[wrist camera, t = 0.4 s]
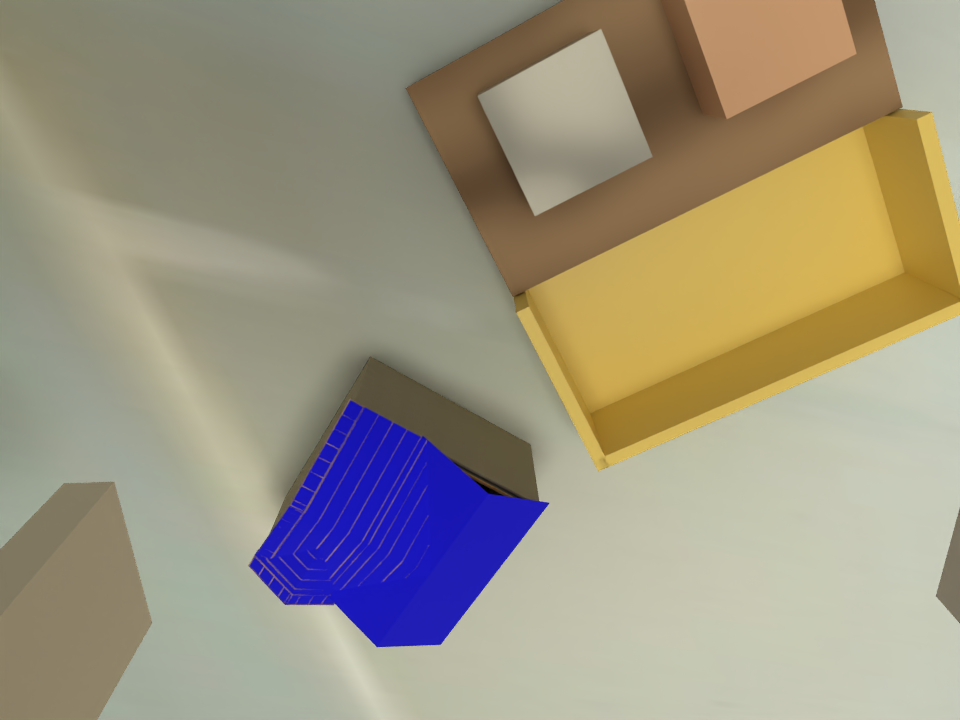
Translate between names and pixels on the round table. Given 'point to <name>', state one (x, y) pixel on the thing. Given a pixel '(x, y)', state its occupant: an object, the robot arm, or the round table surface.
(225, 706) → the round table surface
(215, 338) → the round table surface
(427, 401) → the house
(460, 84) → the walnut board
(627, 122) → the grey square block
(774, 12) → the peach block
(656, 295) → the yellow tray
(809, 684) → the round table surface
